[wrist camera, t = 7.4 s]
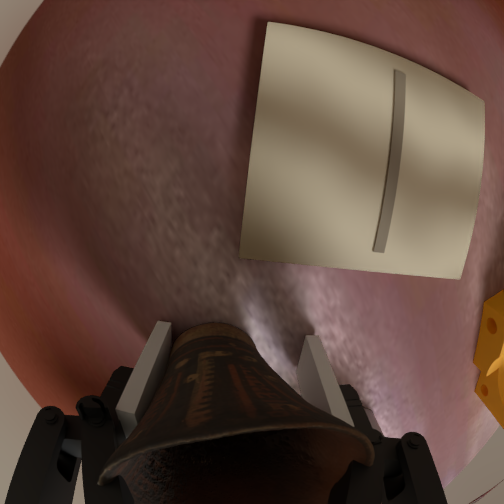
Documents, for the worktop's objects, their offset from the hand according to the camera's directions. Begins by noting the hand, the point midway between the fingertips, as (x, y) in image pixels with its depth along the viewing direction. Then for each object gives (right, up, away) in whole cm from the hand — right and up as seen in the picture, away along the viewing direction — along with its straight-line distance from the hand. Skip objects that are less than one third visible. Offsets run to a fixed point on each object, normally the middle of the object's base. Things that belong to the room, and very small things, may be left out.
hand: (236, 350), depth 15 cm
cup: (0, 0, 0) cm, 0 cm away
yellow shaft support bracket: (+22, -3, +2) cm, 22 cm away
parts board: (+7, +10, -3) cm, 13 cm away
